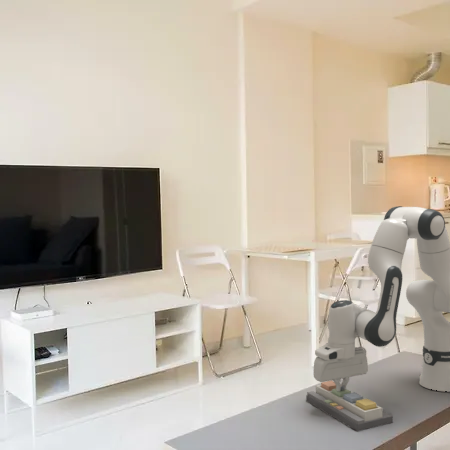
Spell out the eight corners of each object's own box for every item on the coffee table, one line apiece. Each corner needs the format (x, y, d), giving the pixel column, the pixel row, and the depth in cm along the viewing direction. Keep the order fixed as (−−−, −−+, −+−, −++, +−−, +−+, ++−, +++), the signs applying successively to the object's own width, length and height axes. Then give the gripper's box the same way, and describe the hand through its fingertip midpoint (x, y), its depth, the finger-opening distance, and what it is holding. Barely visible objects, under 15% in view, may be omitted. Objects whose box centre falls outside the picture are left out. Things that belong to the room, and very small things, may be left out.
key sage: (342, 394, 184) (342, 387, 184) (350, 398, 180) (350, 391, 180) (332, 396, 182) (332, 389, 182) (340, 401, 178) (340, 393, 178)
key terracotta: (331, 387, 189) (331, 380, 189) (339, 391, 185) (339, 384, 185) (321, 389, 187) (321, 382, 187) (328, 393, 183) (328, 386, 183)
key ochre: (366, 406, 173) (366, 398, 172) (376, 411, 169) (376, 403, 168) (355, 408, 171) (355, 400, 171) (365, 413, 167) (365, 405, 167)
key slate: (354, 399, 178) (354, 392, 178) (363, 404, 174) (363, 396, 174) (343, 401, 176) (343, 394, 176) (352, 406, 172) (352, 398, 172)
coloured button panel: (339, 394, 193) (339, 380, 193) (392, 422, 169) (392, 406, 169) (306, 400, 187) (306, 386, 187) (357, 431, 163) (357, 415, 163)
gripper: (359, 343, 187) (359, 382, 188) (310, 351, 178) (310, 392, 179) (372, 348, 181) (371, 388, 182) (322, 356, 172) (322, 398, 173)
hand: (341, 390), depth 180 cm, fingers closed
